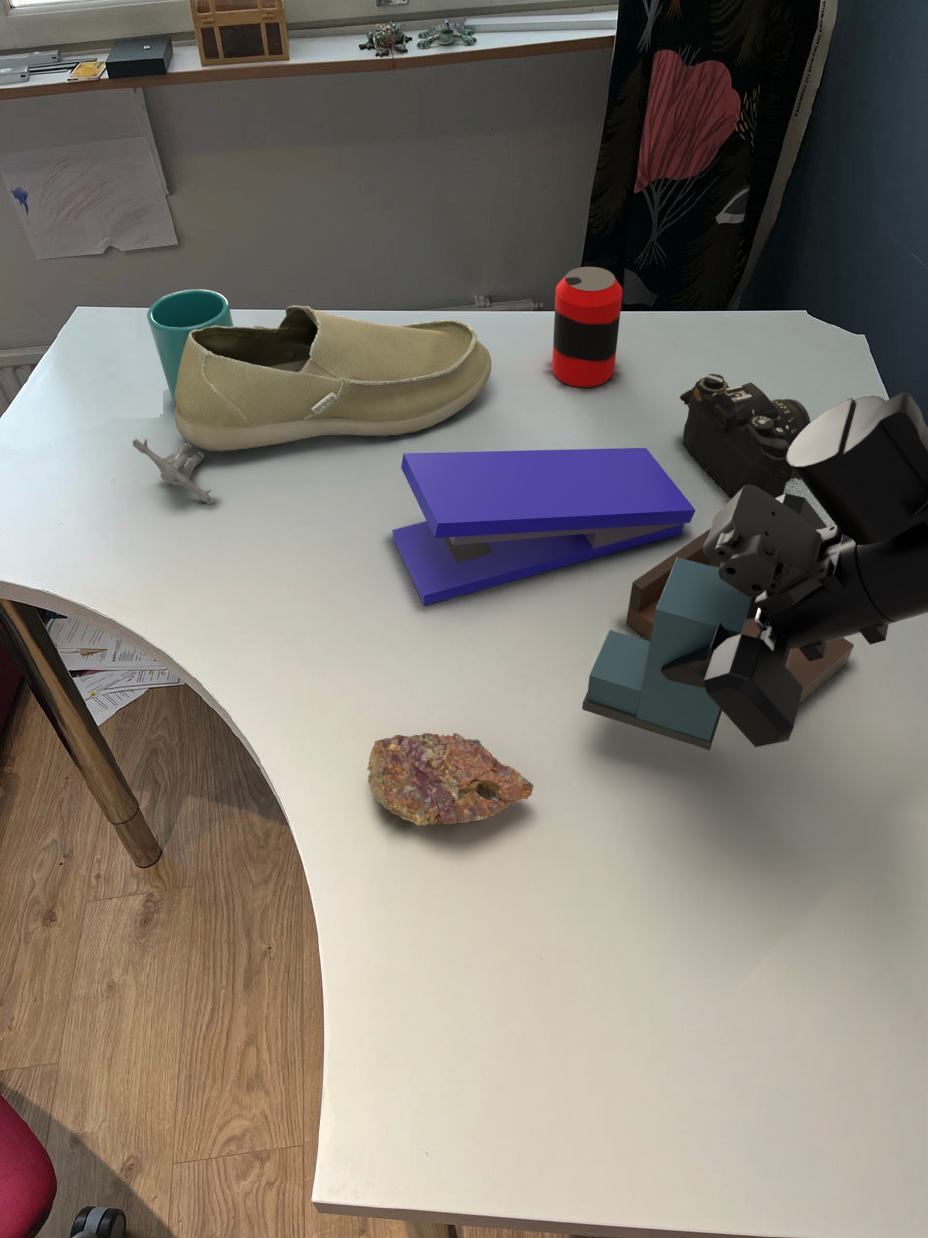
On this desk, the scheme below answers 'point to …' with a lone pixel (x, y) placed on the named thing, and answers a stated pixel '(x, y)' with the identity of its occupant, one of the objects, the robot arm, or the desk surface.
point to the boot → (668, 658)
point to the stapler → (529, 513)
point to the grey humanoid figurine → (177, 467)
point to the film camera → (742, 434)
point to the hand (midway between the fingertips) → (675, 645)
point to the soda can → (586, 326)
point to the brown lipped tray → (807, 673)
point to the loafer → (323, 379)
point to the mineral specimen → (441, 779)
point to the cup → (183, 325)
